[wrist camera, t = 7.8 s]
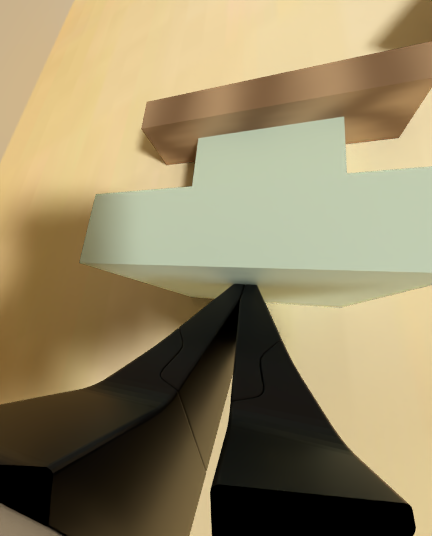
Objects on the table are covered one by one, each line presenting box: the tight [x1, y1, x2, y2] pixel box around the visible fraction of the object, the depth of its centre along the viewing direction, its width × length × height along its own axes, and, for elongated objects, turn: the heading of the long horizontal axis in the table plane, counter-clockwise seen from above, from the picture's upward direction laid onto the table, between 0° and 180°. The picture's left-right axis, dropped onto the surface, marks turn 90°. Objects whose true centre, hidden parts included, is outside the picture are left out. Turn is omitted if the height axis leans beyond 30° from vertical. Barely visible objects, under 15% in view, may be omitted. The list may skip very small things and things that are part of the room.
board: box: [141, 41, 432, 165], centre depth 16 cm, size 18×2×4 cm, turn 85°
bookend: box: [79, 117, 432, 308], centre depth 12 cm, size 12×10×10 cm
